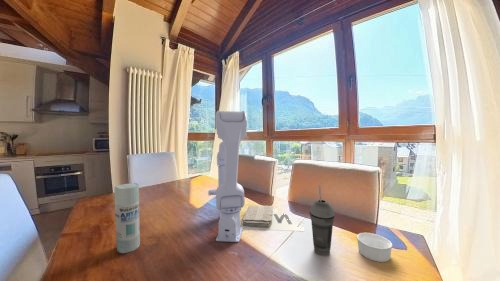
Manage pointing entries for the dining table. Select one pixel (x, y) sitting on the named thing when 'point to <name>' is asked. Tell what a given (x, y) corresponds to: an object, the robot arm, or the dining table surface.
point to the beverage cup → (322, 225)
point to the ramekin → (374, 247)
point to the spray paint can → (127, 217)
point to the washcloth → (258, 216)
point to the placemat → (278, 223)
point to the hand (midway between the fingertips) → (225, 211)
